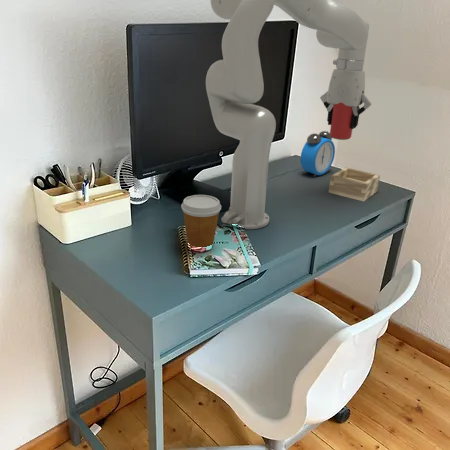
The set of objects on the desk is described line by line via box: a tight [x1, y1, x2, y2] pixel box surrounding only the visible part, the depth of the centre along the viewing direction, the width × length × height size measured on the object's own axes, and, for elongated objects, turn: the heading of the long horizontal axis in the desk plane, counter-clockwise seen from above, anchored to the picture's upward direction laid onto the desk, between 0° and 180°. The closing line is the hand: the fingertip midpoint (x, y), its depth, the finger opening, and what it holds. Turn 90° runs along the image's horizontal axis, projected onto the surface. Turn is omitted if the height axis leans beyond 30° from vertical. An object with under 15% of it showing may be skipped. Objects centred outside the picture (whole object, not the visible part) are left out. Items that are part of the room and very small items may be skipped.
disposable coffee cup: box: [180, 194, 222, 247], centre depth 120 cm, size 10×10×12 cm
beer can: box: [329, 103, 354, 141], centre depth 152 cm, size 7×7×12 cm
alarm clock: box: [300, 130, 336, 178], centre depth 176 cm, size 13×6×15 cm, turn 135°
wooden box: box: [328, 167, 381, 202], centre depth 162 cm, size 12×12×6 cm
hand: (341, 125), depth 153 cm, fingers closed on beer can, 6 cm apart
